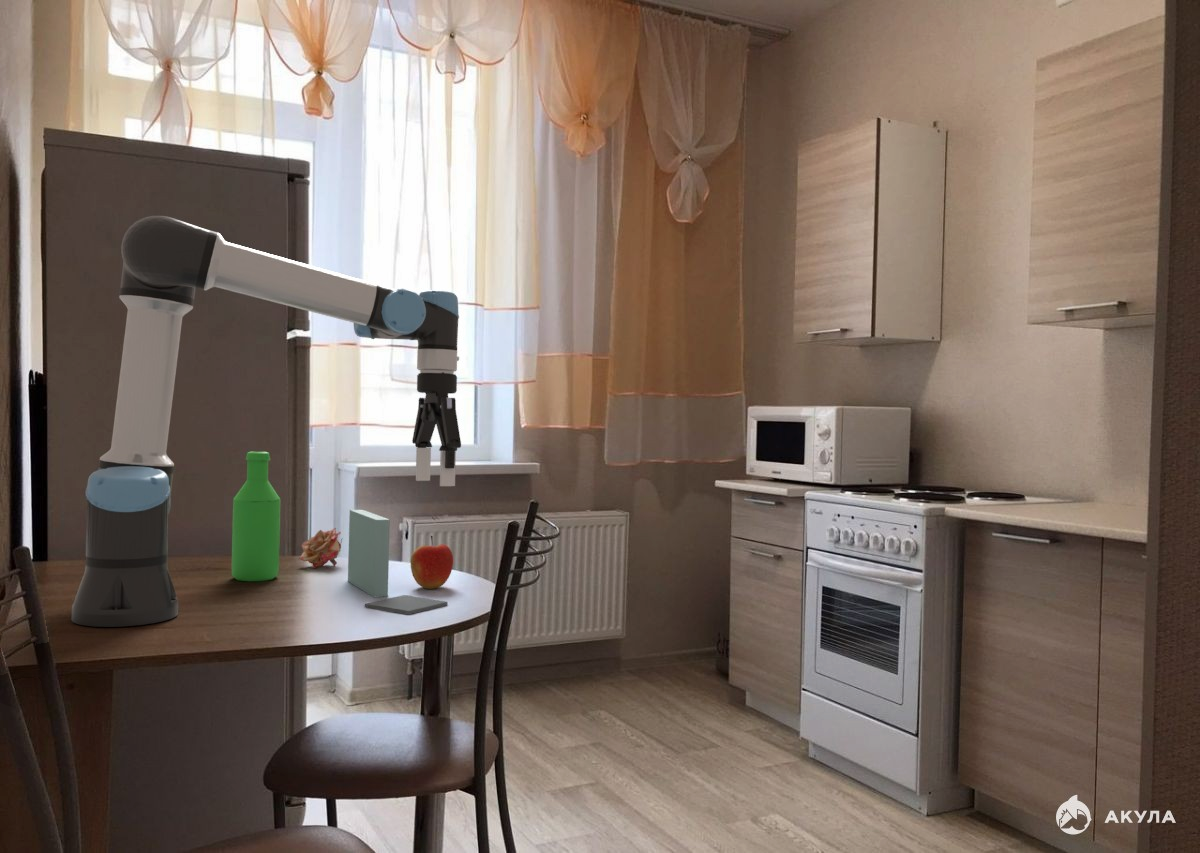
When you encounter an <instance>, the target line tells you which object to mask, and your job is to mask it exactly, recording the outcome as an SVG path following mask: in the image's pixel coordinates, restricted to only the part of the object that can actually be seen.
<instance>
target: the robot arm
mask: <svg viewBox="0 0 1200 853" xmlns="http://www.w3.org/2000/svg"><path fill="white" fill-rule="evenodd" d="M120 249H121V252H120V253H121V257H122V261H123V262H122V272H121V279H120V280H121V281H120V288H119V296H118V298H119V300H121V301H122V303H123V304H124V305H125V307H126V308H127V313H126V321H125V323H126V324H125V330H124V331H125V332H124V338H123V347H122V355H121V364H120V371H119V380H118V388H117V397H116V404H115V412H114V419H113V420H114V422H113V429H112V436H111V443H110V444H111V445H110V446H111V447H110V449H109V450H108V451H107V452H105V453H104V454H102V455H101V456H100V457H99V461H98V469H97V470H96V471H93V472H92V473H91V474H90V475H89V477H88V479H87V485H86V488H85V497H86V528H85V529H86V530H85V531H86V534H85V536H86V537H85V568H84V573H83V576H82V578H81V581H80V584H79V586H78V590H77V591H76V595H75V598H74V601H73V603H72V606H71V622H72V623H74V624H77V625H79V626H84V627H85V626H87V627H98V628H99V627H101V628H102V627H105V628H111V627H112V628H114V627H115V628H116V627H118V628H119V627H120V628H121V627H132V626H135V627H136V626H143V625H150V624H156V623H161V622H165V621H168V620H172V619H173V618H175V617H177V616H178V614H179V598H178V596H177V594H176V590H175V587H174V584H173V582H172V578H171V574H170V573H169V569H168V546H169V545H168V542H169V537H168V536H169V514H170V511H171V504H172V499H171V497H172V496H171V495H172V488H173V487H172V486H173V480H174V479H173V478H174V469H175V463H174V462H173V460H172V459H171V458H170V457H169V456H168V454H167V448H168V440H169V434H170V433H169V431H170V423H171V415H172V406H173V397H174V391H175V380H176V373H177V364H178V357H179V349H180V341H181V331H182V324H183V317H184V316H185V315H187V314H188V313H189V312H190V311H192V310H193V309H194V304H195V295H196V289H198V290H203V291H208V290H209V289H212V288H219V289H222V290H226V291H229V292H234V293H237V294H242V295H245V296H249V297H253V298H258V299H261V300H265V301H269V302H272V303H276V304H280V305H285V306H288V307H292V308H296V309H300V310H303V311H307V312H311V313H316V314H318V315H322V316H325V317H331V318H335V319H338V320H340V321H341V320H342V321H346V322H350V323H353V330H354V333H355V335H356V336H357V337H359V338H367V339H371V340H374V339H379V340H380V339H381V340H407V341H408V340H409V341H417V352H416V353H417V356H416V357H417V358H416V359H417V360H416V369H417V370H418V371H419V373H418V374H417V375H416V391H417V392H418V393H421V394H424V393H425V396H424V397H419V398H418V409H417V414H416V418H415V420H416V421H415V424H414V430H413V436H412V439H411V440H412V441H411V442H412V444H415V448H416V454H415V456H416V457H415V481H417V482H422V481H423V482H426V481H427V482H430V481H431V462H432V461H431V458H432V457H431V456H432V455H431V454H432V450H431V448H433V445H432V442H431V441H432V438H433V433H434V432H435V431H434V430H435V428H436V429H437V431H438V432H437V433H438V435H439V439H440V443H441V445H440V447H439V449H438V451H439V452H440V455H439V457H440V459H439V460H440V464H439V487H456V459H457V458H456V457H457V456H456V454H457V453H456V452H457V451H458V449H460V448H461V447H462V441H461V436H460V429H459V423H458V416H457V410H456V408H457V407H456V402H457V400H456V398H455V397H449V394H450V395H451V394H456V393H457V391H458V390H457V389H458V387H457V386H458V385H457V384H458V383H457V382H458V377H457V375H456V373H455V372H457V371H458V362H459V360H460V357H459V356H458V338H459V337H458V335H459V334H458V333H459V319H460V315H459V298H458V296H457V295H456V294H455V293H454V292H452V291H446V290H422V291H420V293H419V294H418V293H417V292H415V291H413V290H410V289H406V288H398V289H394V288H392V287H388V286H384V285H380V284H376V283H373V282H370V281H367V280H363V279H360V278H355V277H352V276H348V275H345V274H341V273H339V272H334V271H331V270H327V269H325V268H324V269H323V268H321V267H316V266H314V265H310V264H307V263H304V262H299V261H295V260H292V259H288V258H285V257H282V256H278V255H274V254H270V253H267V252H264V251H260V250H258V249H257V250H256V249H253V248H249V247H246V246H242V245H240V244H235V243H233V242H232V243H231V242H228V241H226V240H225V239H224V237H223V236H222V235H221V233H219V232H217V231H213V230H209V229H206V228H203V227H199V226H197V225H194V224H191V223H188V222H185V221H182V220H180V219H177V218H174V217H170V216H166V215H151V216H146V217H144V218H140V219H138V220H137V221H135V222H134V223H132V225H130V226H129V228H128V229H127V230H126V231H125V233H124V236H123V238H122V241H121V247H120ZM454 373H455V374H454Z"/></svg>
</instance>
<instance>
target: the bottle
mask: <svg viewBox="0 0 1200 853" xmlns="http://www.w3.org/2000/svg"><path fill="white" fill-rule="evenodd" d="M245 460H246V461H247V462H246V463H247V464H246V466H247V469H246V470H247V471H246V481H245V482H244V484H243V485H242V487H241V488H240V489H239V491H238V492H237V493H236V495H235V496H234V497H233V500H232V535H231V536H232V537H231V538H232V540H231V544H232V545H231V576H232V577H233V578H234V579H235V580H236V581H241V582H266V581H271V580H273V579H275V577H277V576H278V575H279V574H280V573H279V569H280V543H281V541H280V540H281V538H280V537H281V536H280V535H281V501H282V500H281V498H280V496H279V495H278V494H277V492H276V490H275V489H274V486H272V484H271V483H270V481H269V461H271V457H270V452H267V451H262V450H261V451H257V450H256V451H255V450H254V451H249V452H247V453H246V457H245Z"/></svg>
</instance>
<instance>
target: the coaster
mask: <svg viewBox="0 0 1200 853" xmlns="http://www.w3.org/2000/svg"><path fill="white" fill-rule="evenodd" d="M446 606H448V601H445V600H440V599H432V598H425V597H419V596H413V595H406V594H403V595H399V596H393V597H389V598H385V599H379V600H375V601H370V602H366V603H365V602H364V608H369V609H374V610H379V611H380V610H381V611H387V612H390V613H391V612H393V613H399V614H402V615H403V614H404V615H413V614H417V613H420V612H424V611H430V610H433V609H438V608H441V607H446Z"/></svg>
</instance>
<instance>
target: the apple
mask: <svg viewBox="0 0 1200 853" xmlns="http://www.w3.org/2000/svg"><path fill="white" fill-rule="evenodd" d="M430 539H431V545H428V544H427V545H421V546H418V548H416V549H415V550H414V551H413V552H412V554H411V557H410V570H411V574H412V577H413V579H414V580H415V582H416V584H418V586H420V587H421V588H424V589H427V590H434V589H438V588H440V587H442V586H443V585H445V584H446V583H447V581H448V579H450V577H451V574H452V571H453V567H454V566H453V565H454V556H453V552H452V550H451V549H450V546H448V545H446V544H444V543H443V544H437V545H436V546H433V545H434V544H433V535H430Z"/></svg>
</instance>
